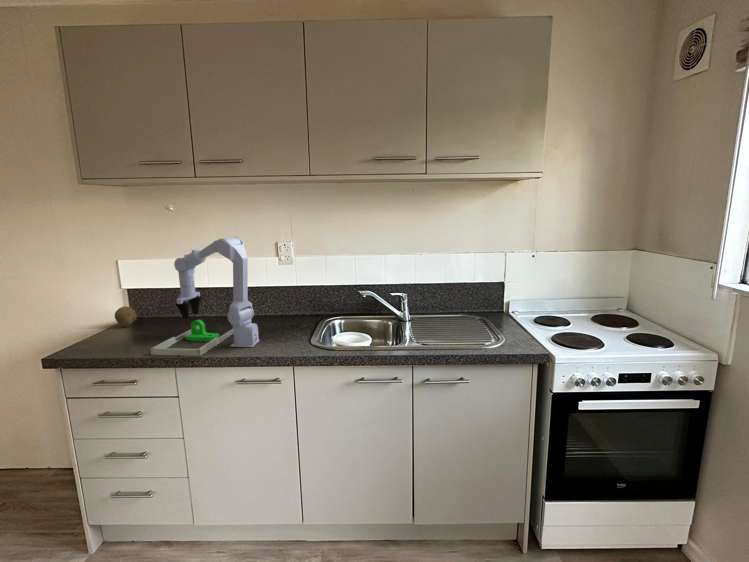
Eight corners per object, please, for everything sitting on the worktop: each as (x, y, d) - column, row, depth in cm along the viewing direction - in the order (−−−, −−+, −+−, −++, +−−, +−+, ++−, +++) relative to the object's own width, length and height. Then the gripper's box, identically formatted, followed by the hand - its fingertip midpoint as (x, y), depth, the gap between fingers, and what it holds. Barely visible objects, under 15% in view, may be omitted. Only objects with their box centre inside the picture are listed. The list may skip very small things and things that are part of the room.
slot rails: (240, 329, 187) (239, 325, 187) (218, 343, 167) (218, 339, 167) (199, 328, 189) (198, 324, 189) (173, 342, 170) (172, 338, 170)
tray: (218, 343, 167) (218, 337, 167) (200, 356, 154) (199, 349, 153) (173, 342, 170) (172, 337, 169) (151, 354, 156) (150, 348, 156)
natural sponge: (128, 323, 201) (125, 304, 199) (142, 324, 199) (139, 304, 197) (112, 328, 192) (109, 308, 191) (126, 329, 190) (123, 309, 188)
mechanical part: (186, 341, 172) (184, 323, 171) (195, 336, 178) (193, 319, 177) (211, 342, 170) (209, 324, 168) (219, 337, 176) (217, 320, 174)
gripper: (188, 282, 178) (191, 311, 181) (168, 288, 164) (172, 320, 167) (203, 282, 178) (206, 311, 180) (184, 288, 163) (188, 320, 166)
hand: (190, 316), depth 173 cm, fingers open, 7 cm apart
